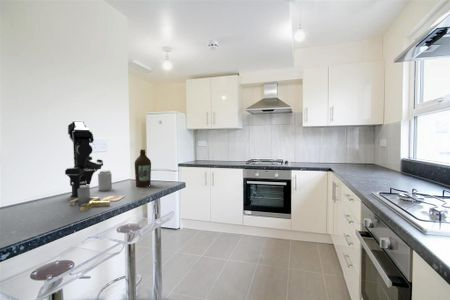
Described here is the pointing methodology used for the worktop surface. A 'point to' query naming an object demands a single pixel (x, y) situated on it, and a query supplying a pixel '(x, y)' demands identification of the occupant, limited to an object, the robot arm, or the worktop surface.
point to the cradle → (89, 201)
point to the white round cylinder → (83, 194)
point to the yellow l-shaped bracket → (94, 204)
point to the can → (104, 180)
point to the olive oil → (143, 170)
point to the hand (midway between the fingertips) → (83, 186)
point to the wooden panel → (112, 198)
